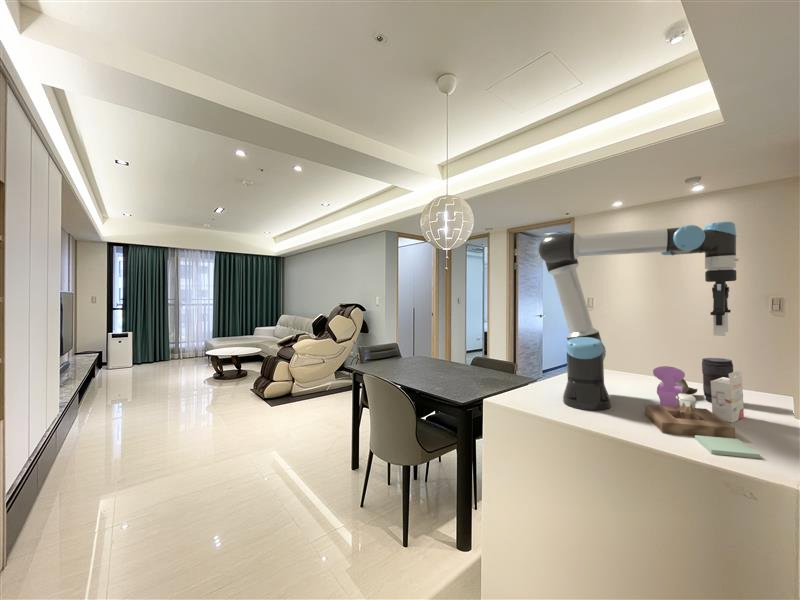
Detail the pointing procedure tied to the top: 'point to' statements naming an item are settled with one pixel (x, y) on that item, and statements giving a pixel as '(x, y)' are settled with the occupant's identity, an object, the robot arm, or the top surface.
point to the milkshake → (686, 406)
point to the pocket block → (689, 422)
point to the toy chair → (668, 384)
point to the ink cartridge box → (728, 397)
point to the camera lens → (714, 372)
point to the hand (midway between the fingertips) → (721, 333)
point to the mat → (726, 446)
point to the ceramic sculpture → (685, 387)
